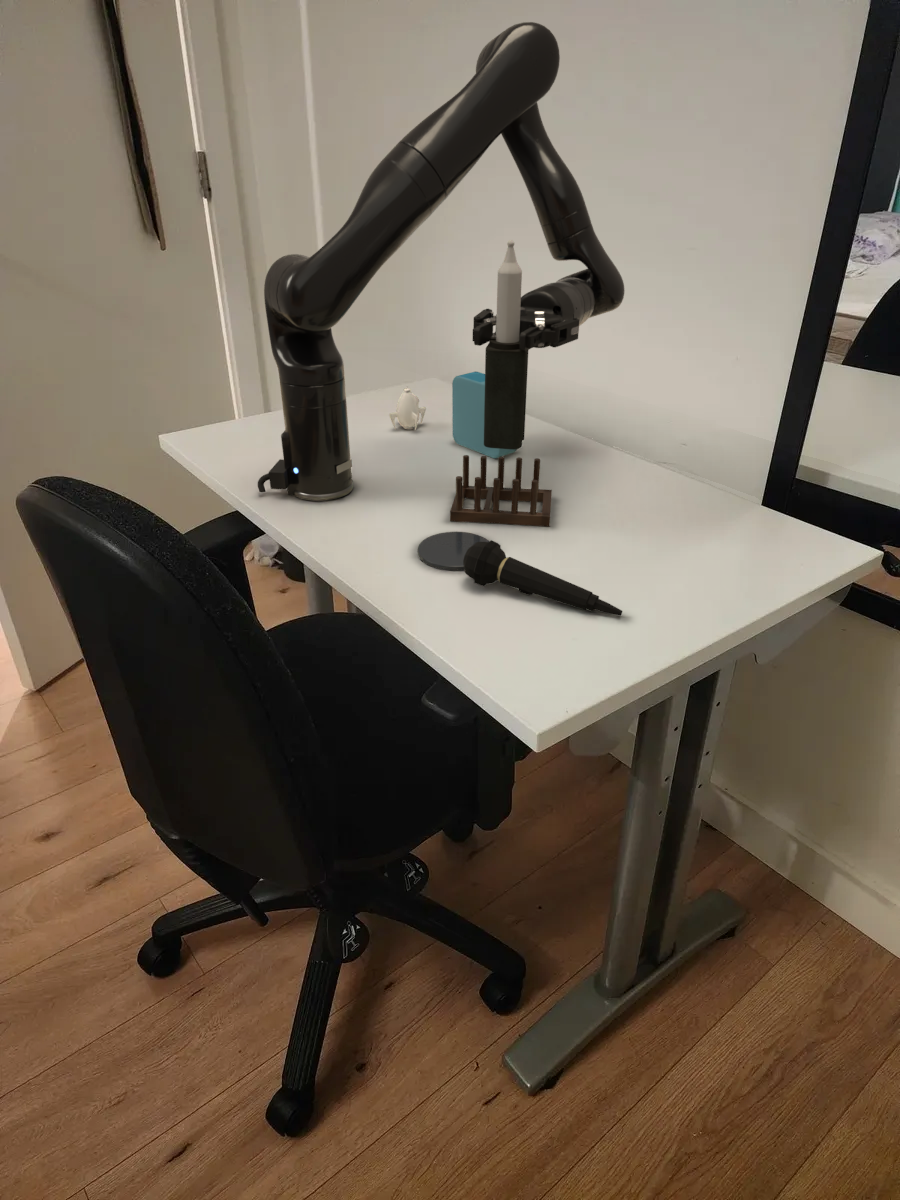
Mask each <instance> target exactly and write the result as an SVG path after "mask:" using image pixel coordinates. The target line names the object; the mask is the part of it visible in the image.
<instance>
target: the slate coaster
mask: <svg viewBox="0 0 900 1200" xmlns="http://www.w3.org/2000/svg"><path fill="white" fill-rule="evenodd" d="M490 541H491V540H490V539H487V538H486V537H484V536H482V535H479V534H475V533H472V532H466V531H446V532H440V533H436V534H432V535H430V536H428V537H426V538H424V539H423V540H421V542H420V543H419V544H418V546H417V556H418V558H419V559H420V560H421V562H423V563H424V564H426V565H427V566H429V567H432V568H435V569H437V570H438V569H439V570H443V571H453V572H455V571H458V572H459V571H465V569H464V565H463V560H464V556H465V554H466V552H467V550H468V549H469V548H470V547H471V546H472V545H474V544H475V543H477V542H490Z"/></svg>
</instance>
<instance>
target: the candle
mask: <svg viewBox="0 0 900 1200" xmlns="http://www.w3.org/2000/svg"><path fill="white" fill-rule="evenodd" d="M506 245H507V248H506V252H505V255H504V259H503V261H502V263H501V264H500V266H499V268H498V270H497V285H496V286H497V287H496V314H497V321H496V325H495V331H496V337H493V338H491V339H490V340H489V342H488V344H487V345H486V347H485V362H484V363H485V364H484V374H485V405H484V446H485V447H488V448H498V449H517V450H519V449H521V448H522V447H523V441H524V440H525V433H526V432H525V431H526V430H525V429H526V413H527V412H526V410H527V408H526V407H527V389H528V388H527V387H528V368H529V366H528V365H529V350H528V351H520V348H519V347H520V337H519V331H520V307H521V297H522V281H523V280H522V279H523V277H522V274H523V270H522V268H521V266H520V264H519V263H518V261H517V256H516V252H515V248H514V246H515V242H514V240H513V239H509V240H508V241H507V243H506Z"/></svg>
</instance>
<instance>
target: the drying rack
mask: <svg viewBox="0 0 900 1200" xmlns="http://www.w3.org/2000/svg"><path fill="white" fill-rule="evenodd" d="M487 464H488V456H487V455H481V456H480V468H479V470H480V472H479V476H476V477H474V485H470V455H468V454H464V455H463V456H462V476H461V475H457V476H456V477H455V495H454V498H453V500H452V504H451V507H450V510H449V521H450V522H456V523H457V522H458V523H459V522H460V523H478V524H497V525H514V526H533V527H546V528H547V527H548V528H549V527H550V526H551V525H550V524H551V510H552V493H553V490H552V489H547V488H546V489H544V488H543V489H540V474H541V473H540V472H541V458H539V457H535V458H534V459H533V473H532V480H531V481H530V484H531V485H530V488H523V487H522V480H523V479H522V478H523V477H522V476H523V458H522V457H516V459H515V476H514V477H515V478H512V482H511V483H512V484H511V487H505V486H504V483H505V456H502V457H499V458H497V477H494V478H493V485H492V486H487V473H488V472H487V470H488V469H487V468H488V465H487ZM466 499H472V500H474V506H473V508H464V504H465V501H466ZM482 500H485V501H484V506H483V509H481V508H482ZM500 501H511V505H510V506H511V507H510V510H503V509H502V510H500ZM519 502H528V503H529V511H521V510H520V511H519ZM538 503H542V507H541V512H539V511H537V508H538V507H537V506H538Z"/></svg>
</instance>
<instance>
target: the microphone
mask: <svg viewBox="0 0 900 1200" xmlns="http://www.w3.org/2000/svg"><path fill="white" fill-rule="evenodd" d="M489 541H490V542H477V543H475V544H474V545H472V546H471V547H470V548H469V549H468V550H467V552H466V554H465V556H464V560H463V565H464V569H465V570H464V572H465V574H466V575H467V576H468V577H469V578H470V579H472V580H473V583H474V584H476V585H478V586H482V587H486V586H487V585H492V584H494V583H497V582H498V583H499V584H501V585H504V586H507V587H510V588H514V589H517V590H518V592H519V593H521V594H523V595H527V596H533V595H536V596H538V597H542V598H546V599H548V600H552V601H554V602H558V603H561V604H564V605H568V606H571V607H574V608H577V609H580V610H584V611H590V612H594V611H598V612H602V613H604V614H609V615H614V616H619V617H620V616H622V614H623V610H622V609H620V608H618V607H617V606H614V605H612V604H611V603H609V602H607V601H605V600H603V599H600V596H599V595H597V594H594V593H593V591H591V590H588V589H585V588H583V587H581V586H579V585H576V584H573V583H571V582H570V581H567V580H565V579H562V578H560V577H558V576H555V575H553V574H551V573H548V572H546V571H544V570H541V569H539V568H537V567H535V566H532V565H530V564H528V563H525V562H523V561H520V560H518V559H516V558H513V557H511V556H508V557H507V556H506V552H505V551H504V550H503V549H502V547H501V544H500V543H498V542H496V541H493V540H492V539H491V540H489Z"/></svg>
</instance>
